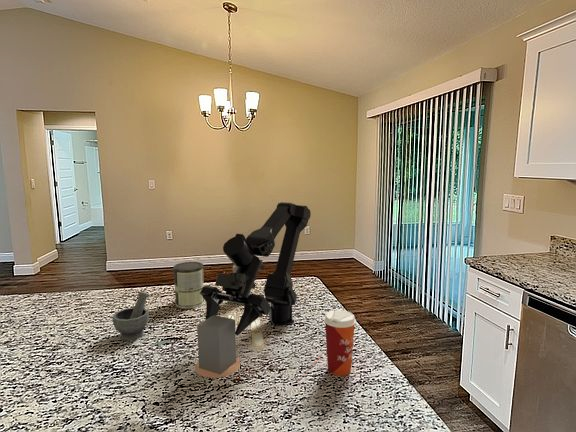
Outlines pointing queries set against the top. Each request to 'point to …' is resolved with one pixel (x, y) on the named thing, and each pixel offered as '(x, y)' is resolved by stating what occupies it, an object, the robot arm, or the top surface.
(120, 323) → the mortar and pestle
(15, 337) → the top surface
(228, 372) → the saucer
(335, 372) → the paper cup
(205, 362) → the grey tall block
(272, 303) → the robot arm
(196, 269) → the coffee can
